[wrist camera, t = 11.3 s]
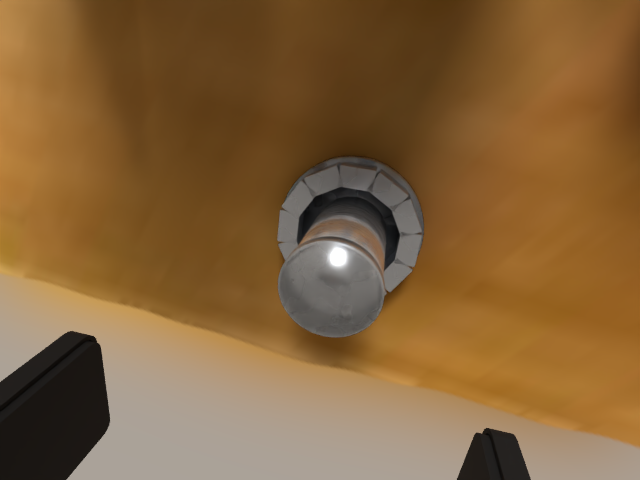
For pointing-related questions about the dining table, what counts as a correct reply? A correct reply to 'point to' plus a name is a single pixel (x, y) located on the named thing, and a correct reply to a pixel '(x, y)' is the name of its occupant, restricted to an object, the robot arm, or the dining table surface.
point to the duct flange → (366, 183)
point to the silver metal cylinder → (337, 270)
